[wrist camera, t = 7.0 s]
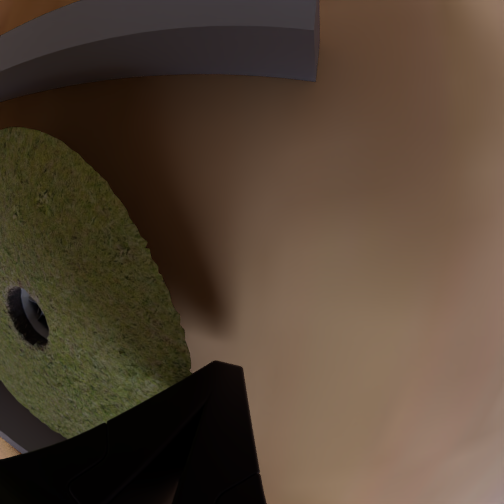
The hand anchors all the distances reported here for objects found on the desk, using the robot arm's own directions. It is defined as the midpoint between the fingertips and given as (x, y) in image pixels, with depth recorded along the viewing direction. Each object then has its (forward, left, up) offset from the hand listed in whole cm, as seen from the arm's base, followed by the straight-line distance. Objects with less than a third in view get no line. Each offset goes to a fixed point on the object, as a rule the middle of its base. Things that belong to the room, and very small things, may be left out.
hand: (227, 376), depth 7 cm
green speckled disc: (0, +6, -1) cm, 6 cm away
